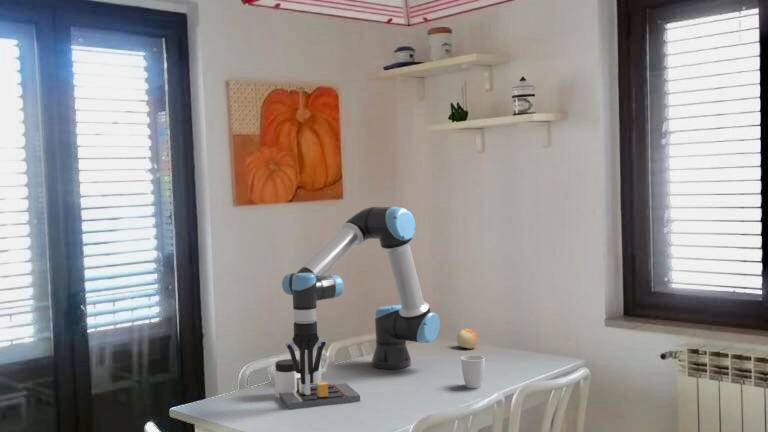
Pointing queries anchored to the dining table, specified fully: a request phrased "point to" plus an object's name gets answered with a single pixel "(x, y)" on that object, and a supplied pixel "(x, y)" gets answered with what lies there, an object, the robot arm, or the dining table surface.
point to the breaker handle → (322, 389)
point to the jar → (285, 377)
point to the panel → (335, 396)
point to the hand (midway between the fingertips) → (307, 393)
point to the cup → (473, 370)
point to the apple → (467, 338)
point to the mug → (318, 373)
